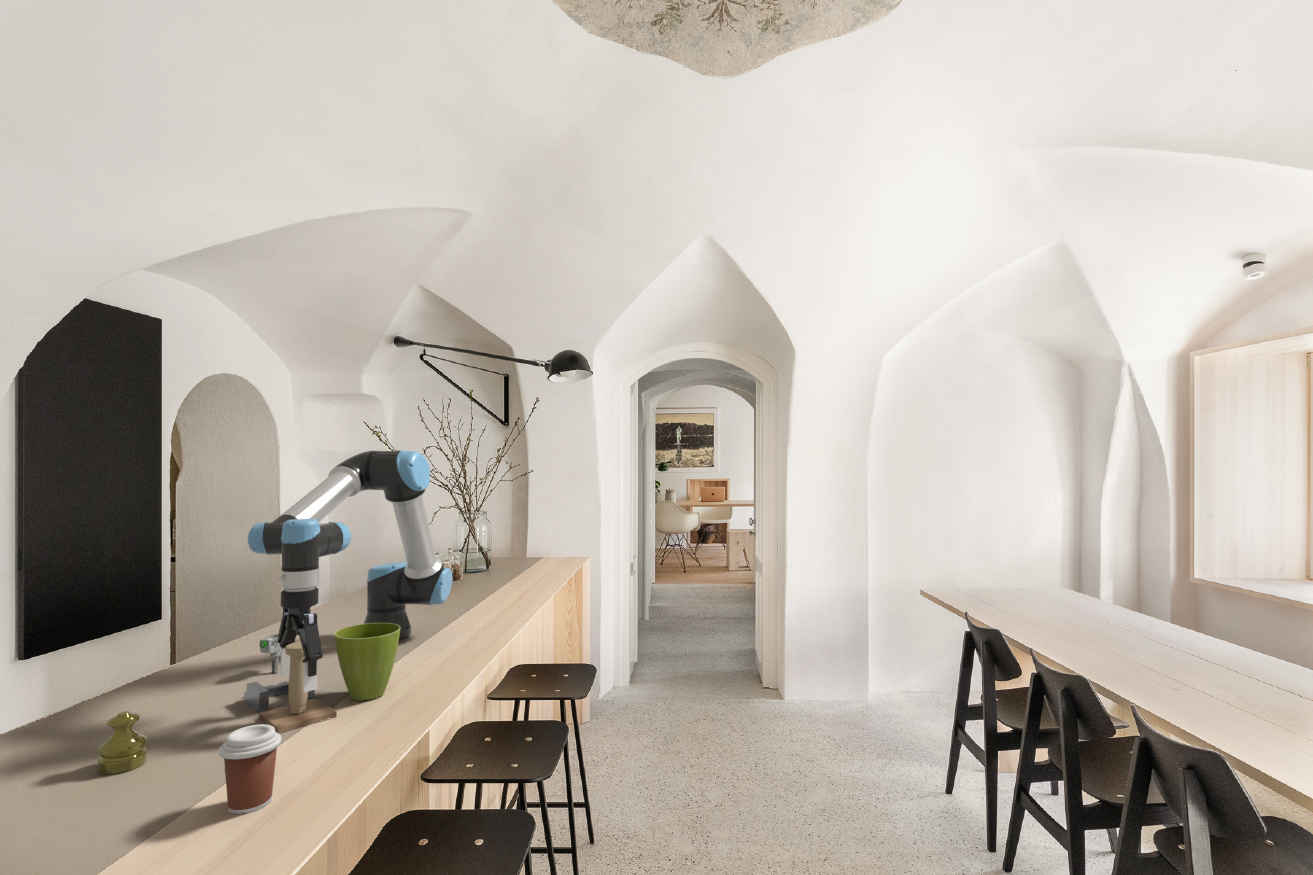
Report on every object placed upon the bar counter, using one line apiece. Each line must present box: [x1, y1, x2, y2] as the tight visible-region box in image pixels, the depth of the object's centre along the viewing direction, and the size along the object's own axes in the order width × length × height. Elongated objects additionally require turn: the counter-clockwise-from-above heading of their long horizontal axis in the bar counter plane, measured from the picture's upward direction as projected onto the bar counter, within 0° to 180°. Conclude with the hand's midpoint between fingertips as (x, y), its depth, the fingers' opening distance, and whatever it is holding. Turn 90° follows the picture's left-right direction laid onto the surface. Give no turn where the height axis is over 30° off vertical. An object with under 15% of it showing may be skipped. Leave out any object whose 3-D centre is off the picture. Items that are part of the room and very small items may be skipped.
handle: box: [285, 640, 308, 714], centre depth 149 cm, size 5×6×15 cm
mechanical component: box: [259, 633, 283, 674], centre depth 179 cm, size 3×10×10 cm, turn 174°
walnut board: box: [258, 697, 338, 734], centre depth 148 cm, size 12×12×1 cm
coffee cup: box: [218, 723, 282, 815], centre depth 112 cm, size 9×9×12 cm
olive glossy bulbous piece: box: [97, 710, 148, 775], centre depth 126 cm, size 7×7×10 cm
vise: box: [243, 680, 316, 713], centre depth 160 cm, size 12×13×4 cm
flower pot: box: [333, 623, 400, 702], centre depth 162 cm, size 15×15×16 cm
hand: (298, 683), depth 149 cm, fingers open, 13 cm apart
